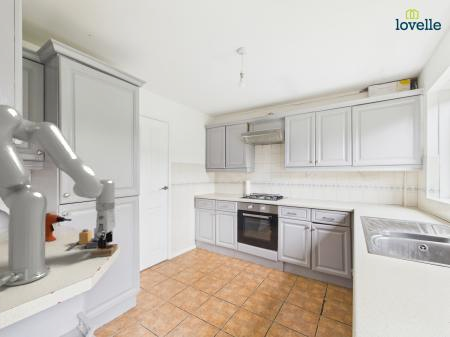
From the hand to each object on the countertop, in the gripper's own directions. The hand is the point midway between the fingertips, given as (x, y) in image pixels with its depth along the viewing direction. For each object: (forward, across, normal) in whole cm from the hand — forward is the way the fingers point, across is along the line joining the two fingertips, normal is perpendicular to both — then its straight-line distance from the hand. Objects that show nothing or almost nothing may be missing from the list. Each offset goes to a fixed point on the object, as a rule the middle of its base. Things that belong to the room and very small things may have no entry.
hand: (105, 244), depth 95 cm
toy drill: (+4, +20, +31) cm, 37 cm away
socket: (+4, +11, +7) cm, 14 cm away
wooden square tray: (+4, 0, 0) cm, 4 cm away
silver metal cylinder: (+3, +11, +7) cm, 13 cm away
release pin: (+4, +15, +15) cm, 22 cm away
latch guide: (+4, +12, +15) cm, 20 cm away
